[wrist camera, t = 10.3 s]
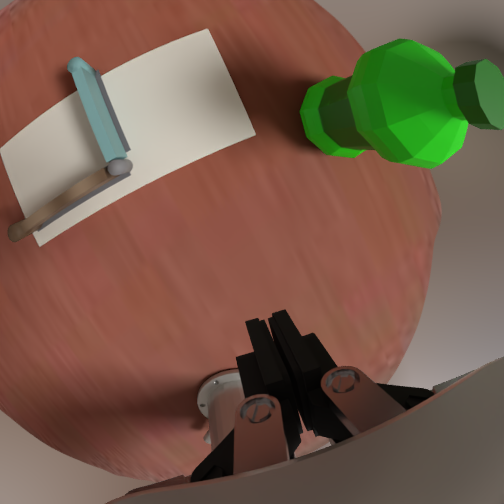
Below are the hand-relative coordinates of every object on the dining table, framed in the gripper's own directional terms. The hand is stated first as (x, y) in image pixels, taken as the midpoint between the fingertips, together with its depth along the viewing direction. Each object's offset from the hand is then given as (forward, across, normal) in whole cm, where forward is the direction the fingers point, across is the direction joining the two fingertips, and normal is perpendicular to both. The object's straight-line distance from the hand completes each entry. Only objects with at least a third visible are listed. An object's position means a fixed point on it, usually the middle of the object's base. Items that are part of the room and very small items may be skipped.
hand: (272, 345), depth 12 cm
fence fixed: (+25, +17, -9) cm, 32 cm away
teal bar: (+24, +10, -17) cm, 31 cm away
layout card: (+25, +10, -15) cm, 31 cm away
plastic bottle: (+25, -16, -10) cm, 31 cm away
